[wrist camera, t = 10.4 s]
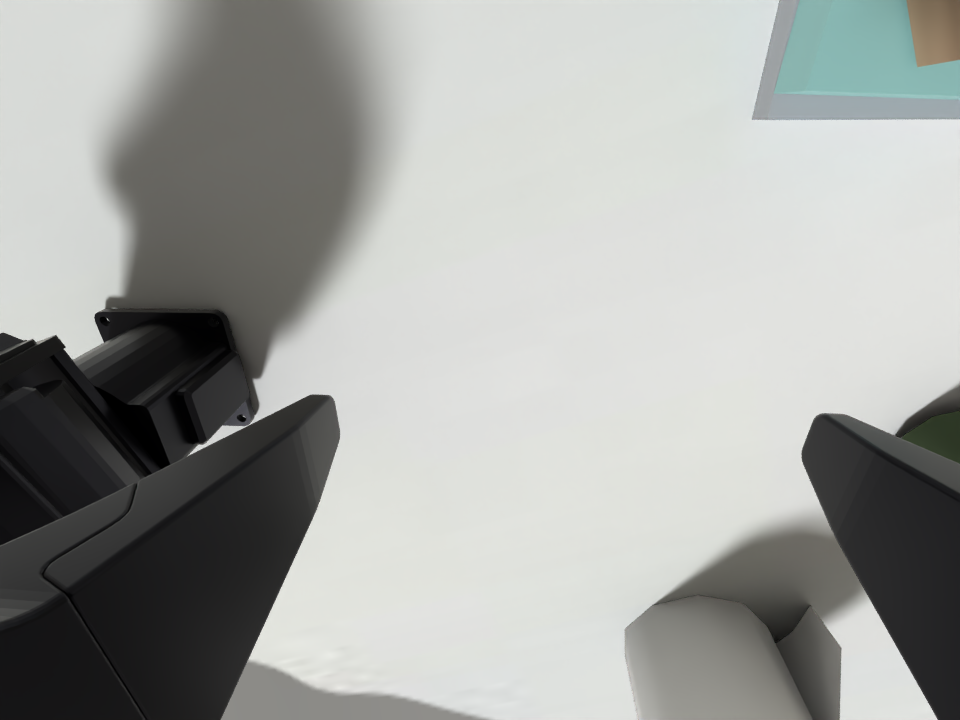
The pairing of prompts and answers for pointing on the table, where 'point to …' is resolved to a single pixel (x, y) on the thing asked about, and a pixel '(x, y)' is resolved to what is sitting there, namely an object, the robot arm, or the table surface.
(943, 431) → the character mug
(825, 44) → the teal slab
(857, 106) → the slate slab
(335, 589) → the table surface
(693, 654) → the toilet tissue
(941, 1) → the walnut pillar
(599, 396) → the table surface
